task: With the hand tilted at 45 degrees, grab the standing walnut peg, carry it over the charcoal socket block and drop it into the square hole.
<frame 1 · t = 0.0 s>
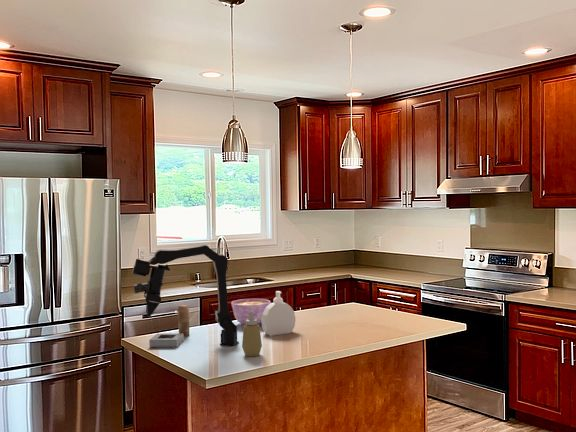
hand: (147, 315, 248), 15 cm above the countertop, fingers open, 9 cm apart
bowl of food: (251, 324, 299), on the countertop
socket block: (167, 344, 260), on the countertop
squeeze bottle: (252, 355, 239), on the countertop
soap bottle: (279, 333, 277), on the countertop
walnut peg: (184, 335, 277), on the countertop
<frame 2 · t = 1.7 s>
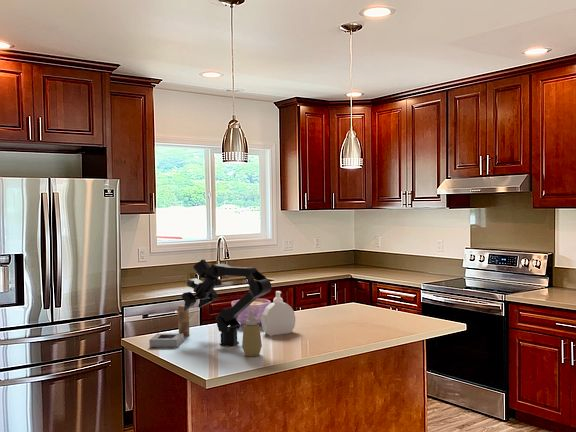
hand: (191, 308, 271), 14 cm above the countertop, fingers open, 9 cm apart
nothing on the countertop moved.
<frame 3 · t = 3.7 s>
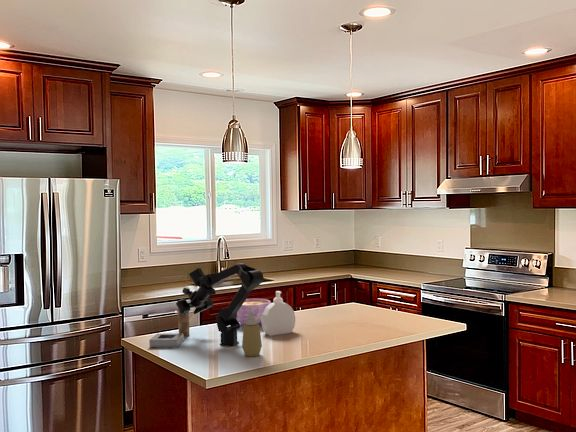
hand: (186, 315, 276), 10 cm above the countertop, fingers open, 9 cm apart
nothing on the countertop moved.
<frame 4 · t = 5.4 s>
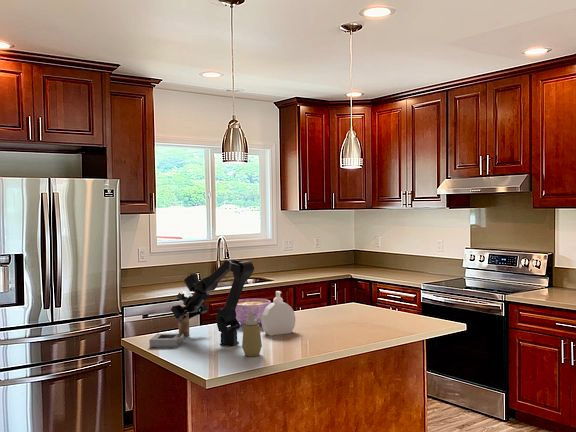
hand: (181, 320, 278), 7 cm above the countertop, fingers closed on walnut peg, 5 cm apart
walnut peg: (184, 335, 277), on the countertop, touching gripper
everything else where it was.
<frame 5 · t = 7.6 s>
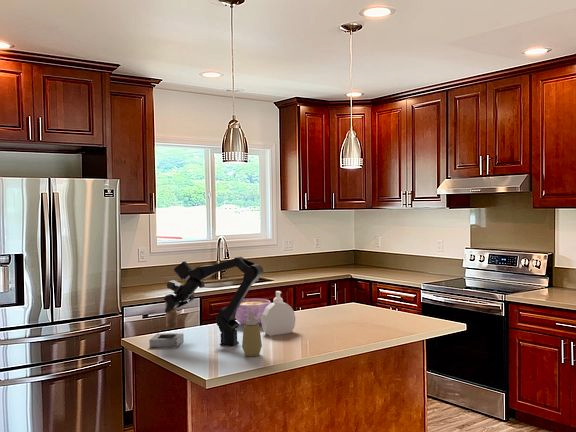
hand: (168, 310, 268), 13 cm above the countertop, fingers closed on walnut peg, 5 cm apart
walnut peg: (171, 326, 268), point 6 cm above the countertop, touching gripper
everything else where it was.
when the fingers open (9 cm above the countertop, at t = 10.1 s): walnut peg drops 2 cm, resting in socket block.
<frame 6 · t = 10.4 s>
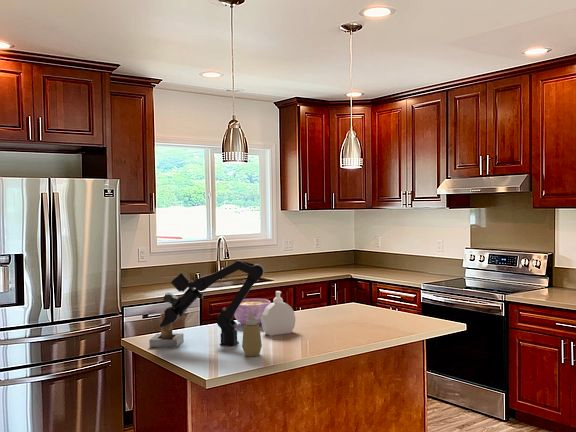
hand: (163, 324, 260), 9 cm above the countertop, fingers open, 9 cm apart
walnut peg: (167, 344, 260), resting in socket block
everything else where it was.
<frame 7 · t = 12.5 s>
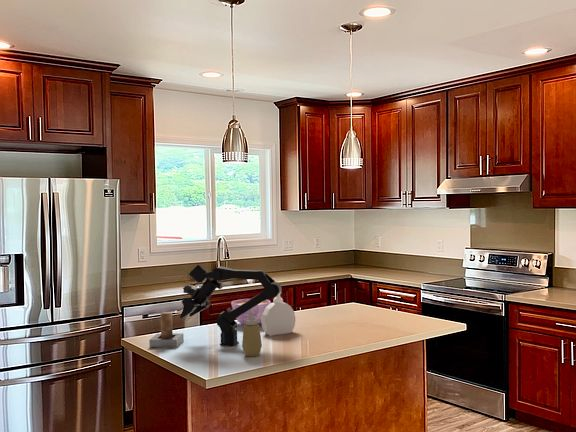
hand: (185, 316, 261), 12 cm above the countertop, fingers open, 9 cm apart
nothing on the countertop moved.
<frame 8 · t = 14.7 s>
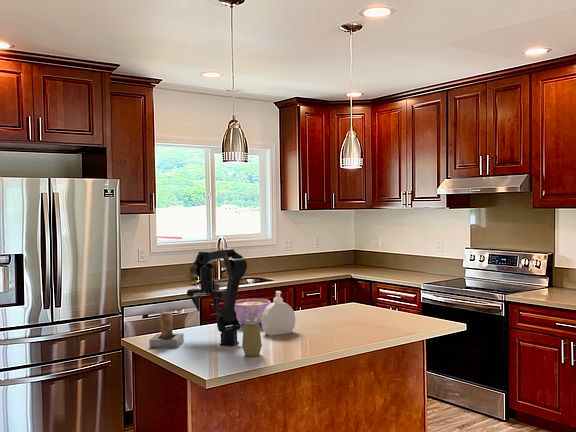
hand: (207, 311, 272), 12 cm above the countertop, fingers open, 9 cm apart
nothing on the countertop moved.
at the end: walnut peg 0.0 cm off-centre on the socket block, point 0.0 cm above the socket block's base; walnut peg tilted 0°; the gripper is holding nothing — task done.
